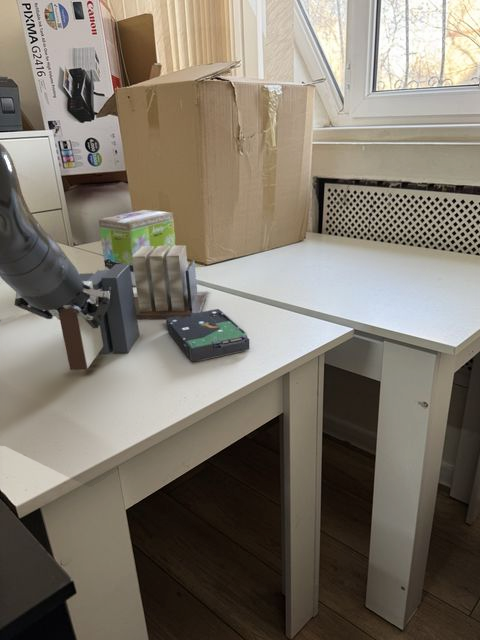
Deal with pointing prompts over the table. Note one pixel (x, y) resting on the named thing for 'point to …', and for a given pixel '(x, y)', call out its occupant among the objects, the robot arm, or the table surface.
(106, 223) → the tea box
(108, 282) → the grey books
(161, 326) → the table surface
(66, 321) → the white book
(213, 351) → the disk drive
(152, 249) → the stone tile rack
